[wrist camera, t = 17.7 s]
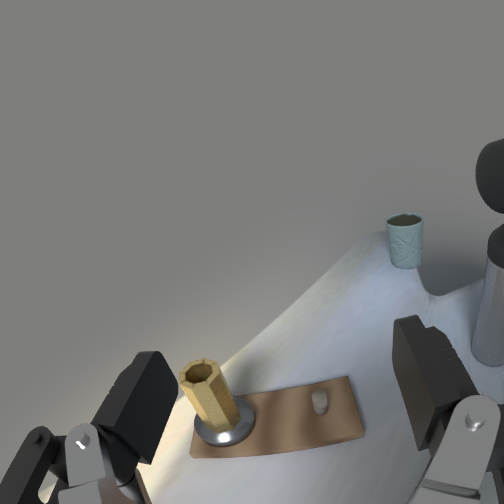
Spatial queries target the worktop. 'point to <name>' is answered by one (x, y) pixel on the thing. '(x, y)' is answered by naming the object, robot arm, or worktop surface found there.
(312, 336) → the worktop surface
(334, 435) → the walnut board
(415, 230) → the pale green pot
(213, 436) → the disc
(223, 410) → the brass sleeve
